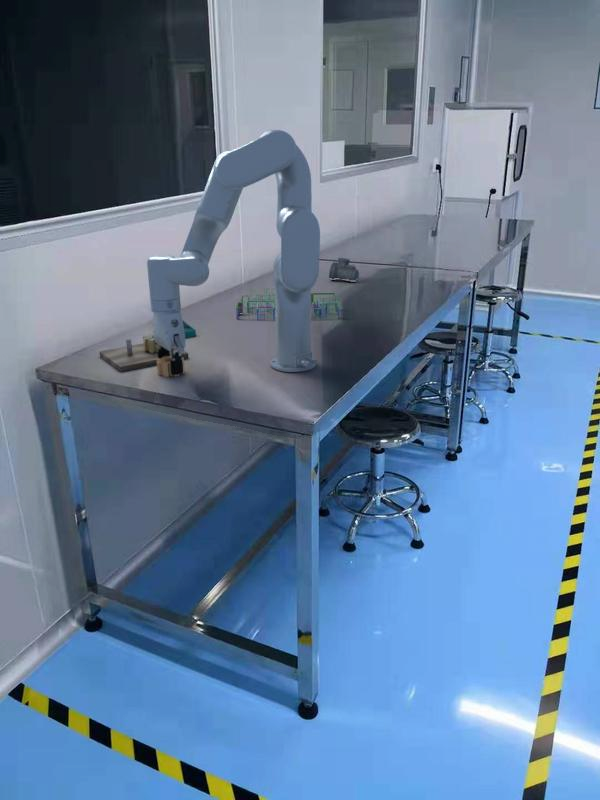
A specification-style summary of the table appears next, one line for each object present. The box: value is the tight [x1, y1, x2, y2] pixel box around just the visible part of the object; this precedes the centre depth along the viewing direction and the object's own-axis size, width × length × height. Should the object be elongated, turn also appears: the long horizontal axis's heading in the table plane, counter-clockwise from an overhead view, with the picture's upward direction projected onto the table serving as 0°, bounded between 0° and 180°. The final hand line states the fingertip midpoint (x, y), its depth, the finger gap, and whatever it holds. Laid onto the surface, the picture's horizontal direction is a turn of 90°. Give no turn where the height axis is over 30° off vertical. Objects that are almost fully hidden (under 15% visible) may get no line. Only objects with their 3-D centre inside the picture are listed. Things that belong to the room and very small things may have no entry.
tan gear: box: [156, 356, 186, 378], centre depth 172 cm, size 7×7×4 cm
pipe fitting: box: [328, 257, 360, 280], centre depth 277 cm, size 12×8×10 cm
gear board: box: [99, 333, 189, 373], centre depth 183 cm, size 16×20×6 cm
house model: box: [235, 288, 340, 321], centre depth 234 cm, size 35×30×5 cm
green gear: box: [142, 333, 157, 353], centre depth 185 cm, size 7×7×4 cm
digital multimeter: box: [183, 320, 197, 339], centre depth 207 cm, size 8×15×3 cm, turn 27°
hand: (170, 369), depth 172 cm, fingers closed on tan gear, 7 cm apart
